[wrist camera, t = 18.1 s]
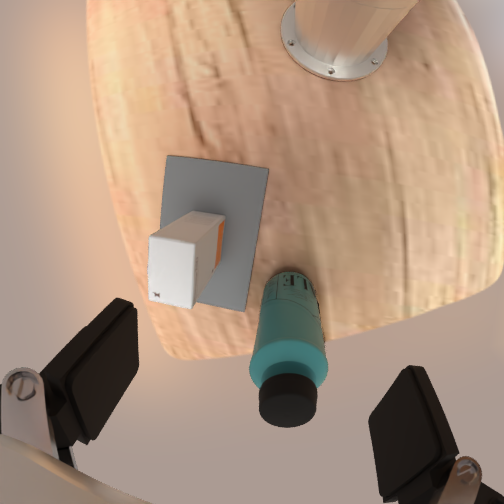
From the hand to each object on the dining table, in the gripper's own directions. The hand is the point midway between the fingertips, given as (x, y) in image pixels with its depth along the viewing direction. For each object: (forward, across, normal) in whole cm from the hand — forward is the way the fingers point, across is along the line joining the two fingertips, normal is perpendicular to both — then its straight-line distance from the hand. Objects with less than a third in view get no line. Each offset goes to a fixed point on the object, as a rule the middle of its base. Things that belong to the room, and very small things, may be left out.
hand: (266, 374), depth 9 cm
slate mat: (+25, +8, +5) cm, 27 cm away
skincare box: (+25, +8, +5) cm, 27 cm away
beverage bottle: (+25, -3, +9) cm, 27 cm away
